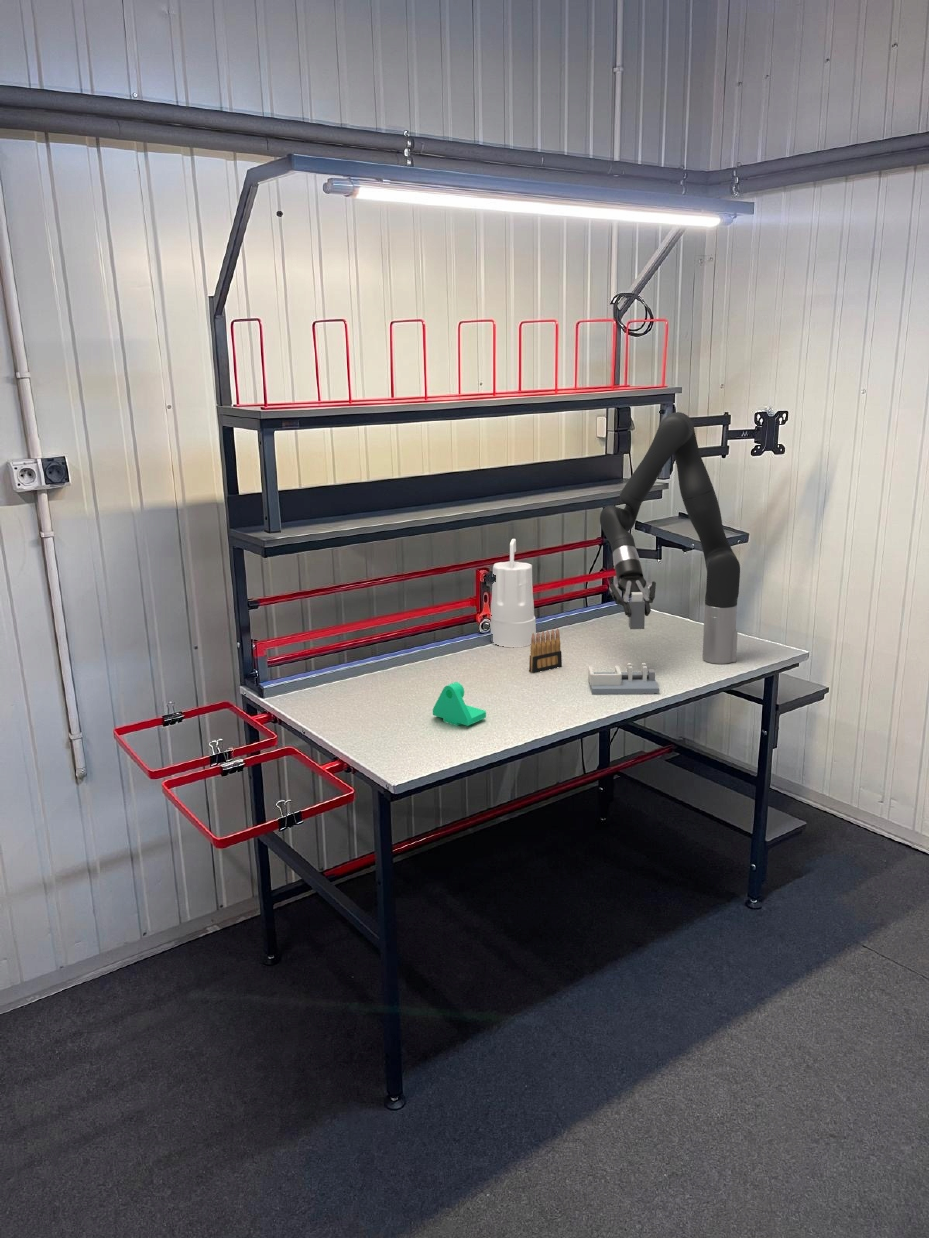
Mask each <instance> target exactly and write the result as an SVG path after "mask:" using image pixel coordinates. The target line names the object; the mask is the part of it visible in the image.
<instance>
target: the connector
mask: <svg viewBox="0 0 929 1238" xmlns="http://www.w3.org/2000/svg"><path fill="white" fill-rule="evenodd" d="M630 597H631V598H629V599H628V603H629V604H630V609H631V613H632V614H631V617H628V627H629V629H630V630H645V626H646V625H645V621H646V620H645V619H646V616H645V601H644V599H643V594H642V592H631V596H630Z"/></svg>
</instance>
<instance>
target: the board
mask: <svg viewBox="0 0 929 1238" xmlns="http://www.w3.org/2000/svg"><path fill="white" fill-rule="evenodd" d="M626 665H627V667H626V672H625V671H624V672H623V671H621V669H620V665H615V666H614V667H615V668H614V670H615V671H614V672H613V671H612V672H609V671H608V672H607V671H606V672H598V671H597V672H594V668H593V666H592V665H588V673H587V675H588V682H589V687H590V691H591V695H644V694H643V693H646V694H645V695H655V694H654V693H659V694H660V687H659V685H658V683H657V680H656V672H655V669H654V668H648V667H647V664H646V662H642V663H641V671H633V666H632V663H630V662H629V663H627V664H626ZM636 693H637V694H636ZM647 693H648V694H647Z"/></svg>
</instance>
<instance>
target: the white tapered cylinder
mask: <svg viewBox="0 0 929 1238" xmlns="http://www.w3.org/2000/svg"><path fill="white" fill-rule="evenodd" d="M516 552H517V540H516V538H512V539H511V541H510V543H509V560H508V561H500V562H495V563H494V564H493V566H492V575H493V574H494V575H496V582H494V583H493V584H492V583H491V585H492V586H491V589H492V590H491V601H490V602H491V603H490V634H491V633H493V642H494V643H495V644H497V645H499V646H498V647H502V646H504V648H513V647H514V648H522V647H523V648H524V647H528V646H531V645H530V644H531V638H532V634H533V633H534V635H535V643H536V636H537V629H536V628H537V625H536V616H535V603H534V594H533V593H534V592H533V590H534V589H533V564H530V563H529V562H521V561H515V553H516ZM491 615H492V616H491ZM495 644H494V645H495ZM497 645H496V646H497Z"/></svg>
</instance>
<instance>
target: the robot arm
mask: <svg viewBox="0 0 929 1238" xmlns="http://www.w3.org/2000/svg"><path fill="white" fill-rule="evenodd" d="M699 449H700V448H699V445H698V440H697V435H696V430H695V425H694V423H693V420H692V419H691V418H690V417H689V415H687V414H686V413H684V412H680V411H676V412H672V413H670V414H668V415H667V416H665V417H664V418H663V419H662V420H661V421H660V423H659V425H658V428H657V430H656V433H655V434H654V437H653V440H652V442H651V444H650V446H649V448H648V450H647V452H646V453H645V455H644V457H643V458H642V460H641V462H640V463H639V464H638V466H637V467H636V468H635V470H634V472H632V474H631V476H630V477H629V479H628V480H627V481H626V484H624V487H623V488H622V490H621V492H620V494H619V499H620V501H621V502H622V503H624V504H625V506H624V508H621V507H617V506H615V505H607V506H605V507H604V508H602V510H601V512H600V515H599V524H600V526H601V527H600V528H601V529H602V531H603V533H604V535H605V537H606V539H607V540H608V543H609V544H610V549H611V553H612V561H613V562H612V563H613V567H614V571H615V576H616V580H617V583H615V584H614V583H610V585H609V588H608V592H609V594H610V595H611V596H612V600H613V601H614V603H615V604H616V605H618V606H619V605H620V606H622V607H623V611H624V614H625V616H627V617H628V618H629V617H631V614H632V613H631V609H630V604H629V599H630V598H629V597H631V592H642V594H643V599H644V601H645V617H649V615H650V614H651V612H652V608H651V605H650V604H652V603H653V602H654V600H655V599H656V598H655V597H656V587H657V585H656V584H657V583H656V581H651V582H649V581H647V580H646V579H645V578H644V572H643V569H642V565H641V564H642V563H641V560H640V556H639V553H638V551H637V547H636V543H635V539H634V536H633V534H632V533H630V531H631V530H632V529H633V528H634V526H635V524H636V520H637V517H638V515H639V511H640V509H641V506H642V504H643V502H644V501H645V499H646V497H648V495H649V494H650V491H651V490H652V488H653V487H654V485H655V482H657V480H658V477H659V475H660V473H661V472H662V469H663V468H664V467H665V465H666V464H667V463H668V461H669V460H670V458H672V456H673V457H674V458H673V459H674V461H675V464H676V470H677V477H678V486H679V492H680V497H681V500H682V502H683V505H684V508H685V511H686V513H687V516H688V518H689V521H690V522H691V524H692V526H693V528H694V530H695V532H696V534H697V537H698V539H699V541H700V544H701V548H702V552H703V557H704V561H705V569H706V585H705V586H706V588H705V595H704V613H703V615H704V616H703V636H702V641H703V642H702V660H703V661H705V662H706V663H710V664H717V665H719V664H721V665H722V664H723V665H724V664H731V663H736V662H737V650H738V649H737V648H738V630H737V613H738V612H737V610H738V598H739V594H740V580H741V579H740V577H741V565H740V562H739V560H738V558H737V555H736V554H735V553H734V551H733V549H732V546H731V545H730V542H729V540H728V538H727V535H726V533H725V530H724V527H723V520H722V514H721V508H720V505H719V501H718V496H717V494H716V492H715V491H716V490H715V488H714V486H713V483H712V481H711V477H710V475H709V473H708V471H707V470H708V469H707V468H706V465H705V462H704V461H703V458H702V456H701V453H700V450H699ZM645 587H646V588H647V590H648V591H649V593H648V594H647V592H646V590H645ZM618 590H620V591H621V592H622V593H623V595H622V596H621V595H620V593H619V591H618Z"/></svg>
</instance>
